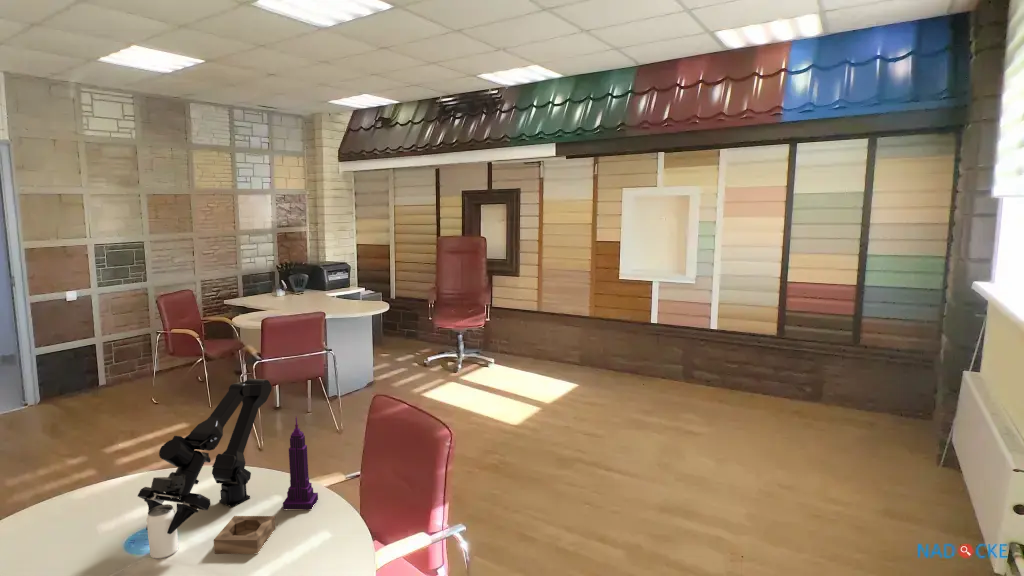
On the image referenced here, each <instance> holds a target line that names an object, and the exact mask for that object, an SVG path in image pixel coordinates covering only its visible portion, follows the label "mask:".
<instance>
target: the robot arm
mask: <svg viewBox="0 0 1024 576" xmlns="http://www.w3.org/2000/svg"><path fill="white" fill-rule="evenodd" d="M272 388H273V386H272V384H271V383H270V380H268V379H261V378H248V379H246V380H244V381H239V382H234V383H231V385H230V386H229V387H228V390H227V392H226V393H225V395H224V396H223V398H222V399H221V401H220V402H219V403H218V404H217V406H216V407H215V408H214V410H213V411H212V412H211V414H210V415H209V417H207V419H205V420H204V421H202V422H200V423H198V424H196V426H195V427H194V428H193V429H192V430H191V431H190V432H189V434H188V435H186V436H185V437H183V436H181V435H174V436H173V437H172V439H170V440H168V441H166V442H165V443H164V444H163V445H162V446H161V447H160V449H159V452H158V454H159V455H158V456H159V458H160V459H161V460H163V461H165V462H166V463H168V464H170V465H172V466H174V467H176V468H177V469H176V470H175V472H174V471H172V472H170V473H169V475H168V476H166V477H165V476H160V477H153V478H152V481H151V487H149V486H144V487H142V488H140V491H139V492H138V494H137V498H140V499H142V500H143V501H144V502H146V504H147V507H148V509H147V510H148V512H149V510H151V509H152V508H154V507H156V506H160V505H164V504H163V503H164V502H171V503H176V510H175V516H174V518H173V520H172V522H171V524H170V527H169V529H168V532H167V533H168V534H171V533H173V532H174V531H175V530H176V529H177V530H178V528H179V527H180V526H181V525H182V524H183V523H184V522H186V521H187V520H188V519H190V517H192V516H193V515H194V514H195V513H196V514H197V513H199V511H200V510H202V511H209V508H210V506H211V499H210V498H209V497H206V496H205V495H202V494H201V493H192V490H193V487H194V485H198V484H199V483H200V480H198V477H199V475H200V472H201V470H202V468H203V466H204V464H205V463H211V457H210V455H209V452H210V451H212V450H215V449H216V448H217V447H218V445H219V443H220V441H221V439H222V438H223V437H224V427H225V425H227V423H228V421H229V420H230V418H231V417H232V416H233V414H234V413H235V411H236V410H237V408H238V407H239V406H240V405H241V403H242V405H241V408H240V411H239V412H238V413H239V414H238V416H237V419H236V422H235V425H234V428H233V430H232V434H231V436H230V438H229V442H228V444H227V448H226V449H225V450H224V451H223V452H222V453H217V455H216V456H215V460H214V463H213V464H212V466H211V467H212V470H211V475H212V477H213V479H214V481H215V482H216V484H220V486H221V487H220V488H221V489H220V499H219V500H218V502H219V503H221V504H223V505H225V504H226V505H225V506H228V505H230V506H229V507H231V506H234V505H236V504H237V505H239V504H241V503H243V502H245V501H247V500H249V499H250V498H251V496H250V495H248V494H247V484H248V482H249V481H250V480H251V476H252V472H251V471H249V470H248V469H246V468H245V466H246V459H245V455H244V454H245V453H244V452H245V449H246V447H247V444H248V440H249V438H250V435H251V432H252V429H253V427H254V423H255V421H256V417H257V414H258V412H259V409H260V408H261V406H263V405H264V404H265V403H266V402H267V400H268V398H269V396H270V395H271V392H272ZM200 450H201V451H200ZM204 451H209V452H204ZM238 503H239V504H238ZM237 505H236V506H237ZM234 507H235V506H234ZM148 512H147V513H148ZM145 529H146V531H148V530H147V526H146V527H145Z"/></svg>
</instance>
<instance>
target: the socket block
mask: <svg viewBox="0 0 1024 576" xmlns="http://www.w3.org/2000/svg"><path fill="white" fill-rule="evenodd" d="M274 530H275V531H276V516H275V515H234V516H233V517H232V518H231V519H230V520H229V521H228V523H227V524H226V525H225V526H224V527H223V528H222V529H221V531H220V532H219V533H218V534H217V535H216V536H215V537H214V538H213V550H214V552H213V553H214V554H215V555H219V554H220V555H225V554H226V555H255V554H254V553H258V552H259V551H261V550H262V549H263V547H264V546H265V545H264V543H265V542H266V541H267V542H268V540H269V539H270V538H269V537H271V536H272V535H271V534H273V533H274V532H275V531H274ZM273 531H274V532H273ZM272 532H273V533H272ZM270 535H271V536H270ZM268 538H269V539H268ZM267 539H268V540H267ZM267 542H266V543H267ZM266 543H265V544H266ZM263 545H264V546H263ZM262 546H263V547H262ZM261 548H262V549H261ZM260 549H261V550H260ZM259 553H260V552H259ZM259 553H258V554H259Z"/></svg>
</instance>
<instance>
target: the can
mask: <svg viewBox="0 0 1024 576" xmlns="http://www.w3.org/2000/svg"><path fill="white" fill-rule="evenodd" d="M175 514H176V510H174V506H173V505H171V504H163V505H160V506H156V507H154V508H152V509H151V510H149V512H147V517H146V527H147V530H146V531H147V537H148V547H149V555H150V557H151V558H153V559H155V560H159V559H164V558H165V559H166V558H168V557H170V556H173V555H174V554H175V553H176V552H177V551H178V549H179V536H178V535H179V534H178V528H177V529H176V530H175V531H174V532H173V533H171V534H168V533H167V532H168V529H169V527H170V524H171V522H172V520H173V518H174V516H175Z"/></svg>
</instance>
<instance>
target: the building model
mask: <svg viewBox="0 0 1024 576" xmlns="http://www.w3.org/2000/svg"><path fill="white" fill-rule="evenodd" d="M294 427H295V428H294V429H293V432H292V433H291V434H290V438H289V448H288V459H289V460H288V461H289V483H290V484H289V487H288V489H287V492H286V494H287V495H286V498H285V499H284V501H283V502H282V510H283V509H312V507H313V505H314V504H315V503H317V502H318V501H319V493H318V492H314V487H313V486H312V484H313V483H312V482H310V477H309V460H308V459H309V457H308V445H307V444H306V438H305V436H306V435H304V432H303V431H302V430H301V428H299V424H298V418H297V417H295V425H294ZM317 500H318V501H317ZM315 505H316V504H315ZM315 505H314V506H315ZM313 508H314V507H313ZM312 510H313V509H312Z"/></svg>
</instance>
